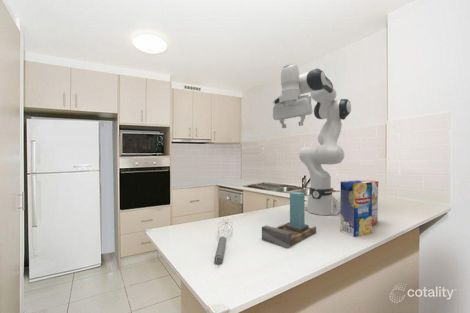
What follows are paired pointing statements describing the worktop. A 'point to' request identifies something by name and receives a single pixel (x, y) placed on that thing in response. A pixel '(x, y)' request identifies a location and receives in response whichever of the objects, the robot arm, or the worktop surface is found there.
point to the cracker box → (374, 201)
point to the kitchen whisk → (221, 247)
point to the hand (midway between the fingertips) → (292, 126)
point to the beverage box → (356, 208)
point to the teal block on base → (297, 212)
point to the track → (285, 235)
